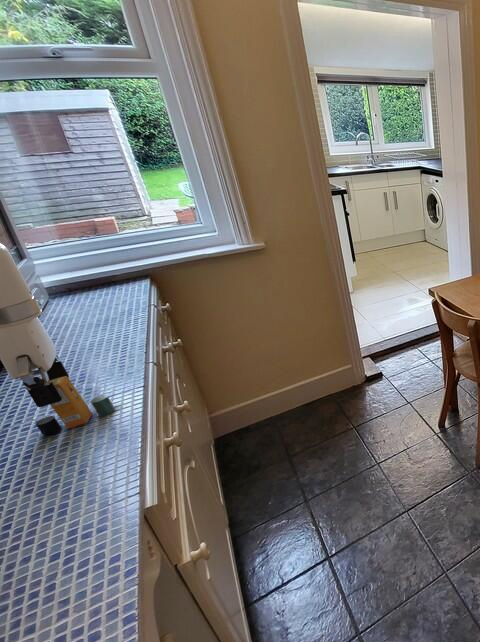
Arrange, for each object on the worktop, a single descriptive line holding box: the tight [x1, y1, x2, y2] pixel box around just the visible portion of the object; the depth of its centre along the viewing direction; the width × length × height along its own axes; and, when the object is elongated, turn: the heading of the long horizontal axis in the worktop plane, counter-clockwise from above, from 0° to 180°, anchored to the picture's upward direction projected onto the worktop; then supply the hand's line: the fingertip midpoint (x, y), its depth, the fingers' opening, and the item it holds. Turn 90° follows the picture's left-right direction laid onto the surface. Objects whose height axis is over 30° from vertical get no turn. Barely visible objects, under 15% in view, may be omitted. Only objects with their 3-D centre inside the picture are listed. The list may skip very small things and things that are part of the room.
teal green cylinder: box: [90, 394, 116, 417], centre depth 85 cm, size 3×3×4 cm
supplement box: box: [49, 376, 93, 429], centre depth 81 cm, size 3×3×10 cm
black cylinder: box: [35, 415, 63, 438], centre depth 81 cm, size 3×3×3 cm
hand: (54, 391), depth 80 cm, fingers open, 9 cm apart
